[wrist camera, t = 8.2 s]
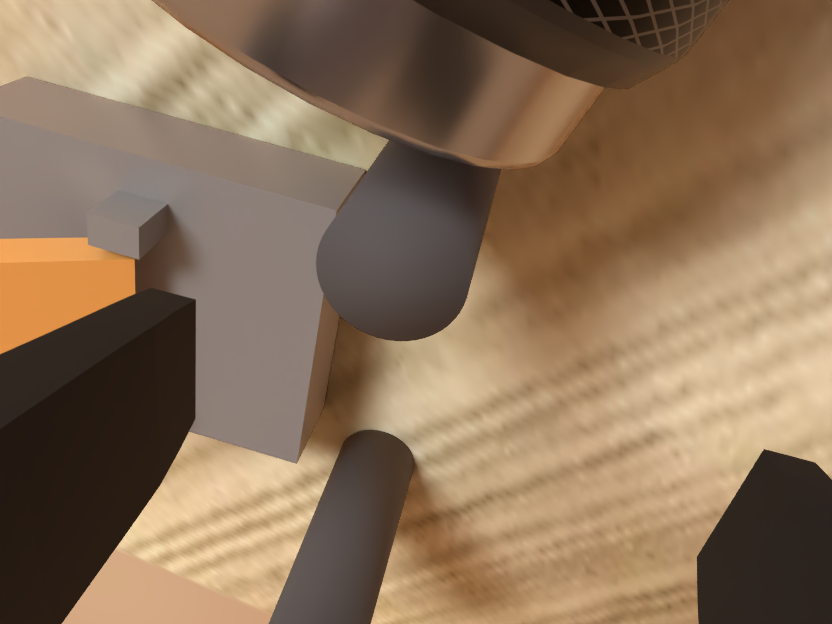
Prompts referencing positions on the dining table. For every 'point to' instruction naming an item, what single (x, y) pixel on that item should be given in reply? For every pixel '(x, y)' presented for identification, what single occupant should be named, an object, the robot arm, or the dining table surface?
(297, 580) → the cylinder
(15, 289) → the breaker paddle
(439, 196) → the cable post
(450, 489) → the dining table surface
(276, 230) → the switch box
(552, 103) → the muzzle brake
